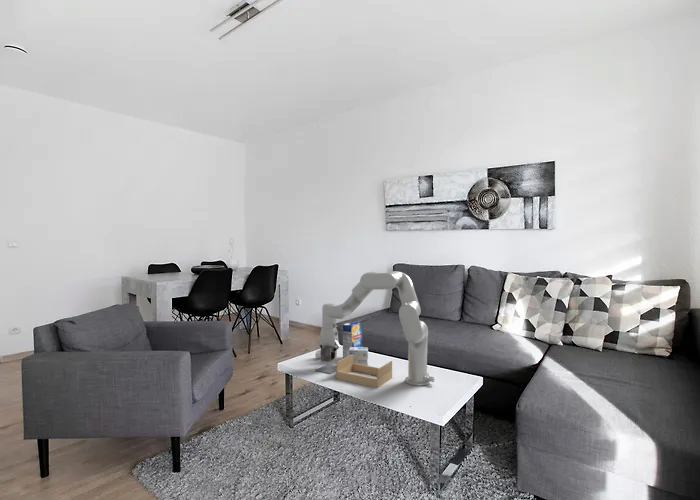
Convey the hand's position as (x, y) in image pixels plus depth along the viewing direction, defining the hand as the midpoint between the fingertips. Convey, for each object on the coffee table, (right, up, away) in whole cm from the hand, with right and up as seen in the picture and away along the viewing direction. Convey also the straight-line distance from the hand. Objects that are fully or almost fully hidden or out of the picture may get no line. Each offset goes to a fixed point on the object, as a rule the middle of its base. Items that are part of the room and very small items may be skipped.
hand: (328, 357), depth 225 cm
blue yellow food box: (+14, -7, +19) cm, 24 cm away
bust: (-4, -7, +21) cm, 22 cm away
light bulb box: (+17, -7, +5) cm, 19 cm away
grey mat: (0, -7, 0) cm, 7 cm away
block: (0, -1, 0) cm, 1 cm away
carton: (+20, -7, -14) cm, 25 cm away
